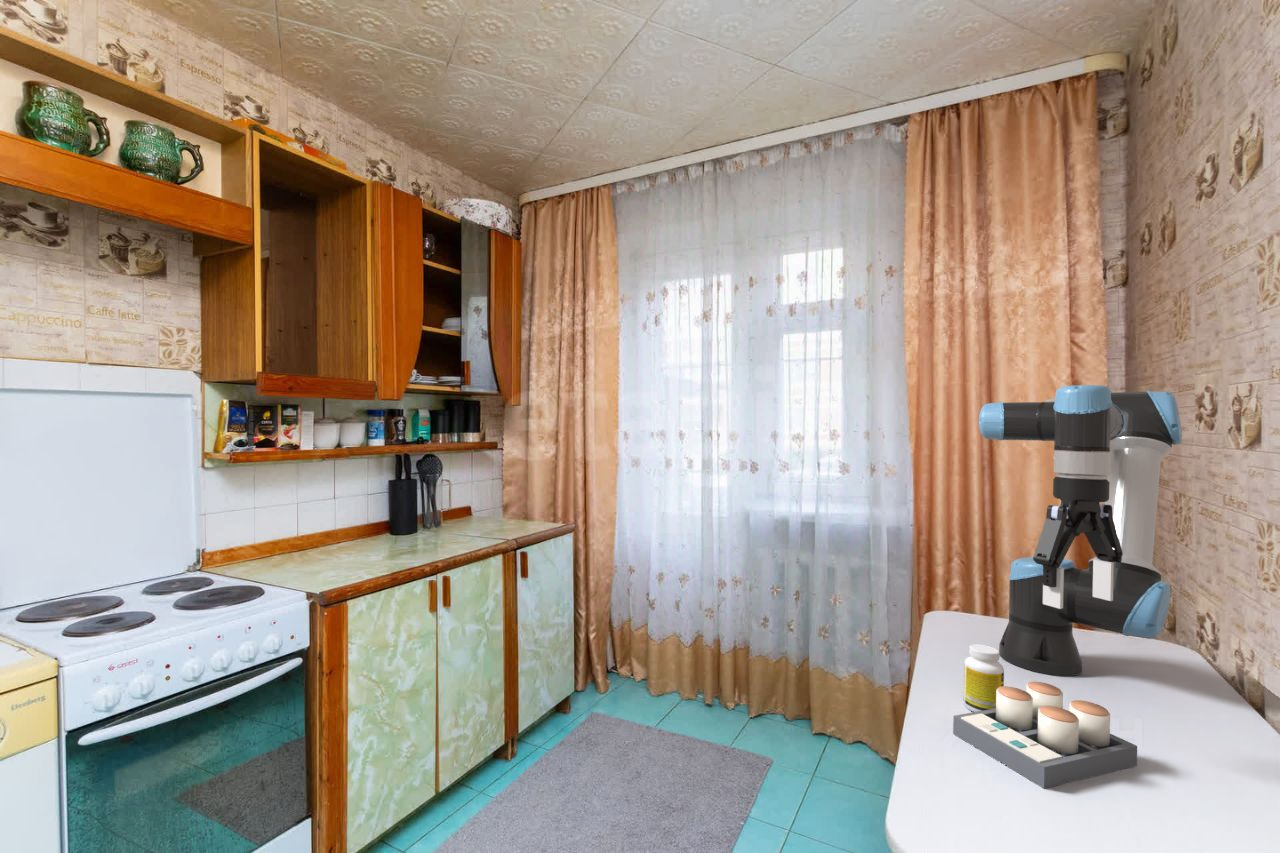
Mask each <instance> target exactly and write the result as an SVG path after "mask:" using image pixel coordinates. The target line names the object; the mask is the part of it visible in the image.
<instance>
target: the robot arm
mask: <svg viewBox="0 0 1280 853" xmlns="http://www.w3.org/2000/svg"><path fill="white" fill-rule="evenodd" d="M978 428H979V431H980V434H981V436H982V437H983V438H984V439H987V440H996V441H997V440H998V441H1042V442H1054V444H1053V445H1054V446H1053V450H1054V452H1053V457H1052V460H1053V473H1055V474H1057V476H1054V477H1053V479H1052V496H1053V497H1054V498H1055V499H1059V500H1060V506H1058V505H1050V504H1049V505H1048V506H1047V507H1046V515H1045V516H1046V517H1045V521H1044V523H1043V527H1042V530H1041V532H1040V536H1039V538H1038V541H1037V543H1036V544H1037V545H1036V547H1035V550H1034V553H1033V554H1034V555H1033V556H1031V557H1020V558H1017V559H1015V560H1013V561H1012V562H1011V564H1010V570H1009V571H1010V573H1009V577H1008V580H1009V588H1008V589H1009V591H1008V592H1009V595H1008V597H1009V598H1008V599H1009V601H1008V602H1009V604H1008V623H1007V626H1005V627H1006V628H1005V629H1004V632H1003V634H1002V637H1001V640H1000V642H999V644H998V651H999V657H1000V658H1002V659H1003V660H1004V661H1006V662H1007V663H1010V664H1012V665H1014V666H1017V667H1019V668H1022V669H1027V670H1028V671H1033V672H1036V673H1037V672H1038V673H1042V674H1047V675H1052V676H1061V677H1062V676H1064V677H1066V676H1068V677H1070V676H1072V677H1073V676H1078V675H1080V674H1081V673H1082V671H1083V670H1082V669H1083V661H1082V657H1081V656H1080V652H1079V649H1078V646H1077V644H1076V641H1075V638H1074V635H1073V624H1076V625H1077V624H1078V625H1081V626H1086V627H1091V628H1095V629H1100V630H1104V631H1109V632H1114V633H1118V634H1122V635H1124V636H1126V637H1131V636H1132V637H1137V638H1141V639H1149V640H1150V639H1154V638H1156V637H1158V636H1159V635H1160V634H1161V632H1162V630H1163V628H1164V625H1165V622H1166V619H1167V616H1168V613H1169V608H1170V604H1171V603H1170V598H1171V595H1172V592H1171V590H1172V589H1171V586H1170V584H1169V583H1168V582H1165V581H1162V573H1161V572H1160V571H1159V570H1158V569H1157V568H1156V567H1155V566H1154V565H1153V559H1154V558H1153V557H1154V545H1155V534H1156V524H1157V523H1156V522H1157V511H1158V510H1157V509H1158V501H1159V500H1158V499H1159V485H1160V484H1159V483H1160V475H1161V465H1162V464H1161V462H1162V459H1163V458H1165V457H1167V456H1169V454H1171V452H1172V449H1173V448H1172V446H1173V445H1174V446H1177V445H1180V444H1182V443H1183V434H1182V433H1183V432H1182V425H1181V417H1180V412H1179V406H1178V402H1177V398H1176V396H1175V395H1174V394H1173V393H1172V392H1169V391H1150V390H1145V391H1121V392H1111V389H1110V388H1109V387H1108V386H1106V385H1101V384H1100V385H1099V384H1084V385H1082V384H1079V385H1066V386H1065V385H1064V386H1061V387H1058V388H1057V389H1056V390H1055V397H1053V398H1049V399H1047V400H1045V401H1032V402H1031V401H1025V402H1023V401H1022V402H1021V401H1019V402H1018V401H1017V402H1016V401H1015V402H1013V401H1012V402H1009V401H1008V402H1003V401H1001V402H1000V401H999V402H990V403H989V402H988V403H985V404H984V405H983V406H982V407H981V408H980V412H979V415H978ZM1106 477H1107V478H1106ZM1081 534H1084V535H1085V537H1086V539H1087V541H1088V543H1089V545H1090V546H1091V549H1092V551H1093V552H1094V555H1095V557H1092V558H1090V559H1089V560H1088V566H1087V569H1086V568H1085V569H1083V568H1078V567H1075V566H1076V564H1075V563H1074V561H1073V560H1072V559H1069V558H1068V559H1067V558H1065V557H1066V556H1067V553H1068V552H1069V550H1070V547H1071V546H1072V544H1073V542H1074V540H1075V538H1076V537H1079V536H1080V535H1081ZM1077 674H1078V675H1077Z"/></svg>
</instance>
